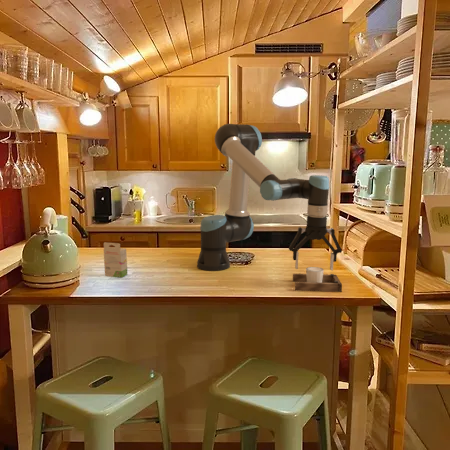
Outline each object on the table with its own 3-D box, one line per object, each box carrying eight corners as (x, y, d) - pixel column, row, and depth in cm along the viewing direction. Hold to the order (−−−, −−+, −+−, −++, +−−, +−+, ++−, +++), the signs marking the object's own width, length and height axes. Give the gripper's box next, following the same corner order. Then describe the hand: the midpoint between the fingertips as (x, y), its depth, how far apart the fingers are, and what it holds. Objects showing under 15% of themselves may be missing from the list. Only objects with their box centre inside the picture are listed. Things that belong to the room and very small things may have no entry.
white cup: (303, 283, 172) (303, 266, 171) (319, 283, 172) (320, 266, 171) (308, 288, 165) (308, 271, 164) (325, 288, 166) (326, 271, 164)
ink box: (128, 274, 183) (126, 241, 181) (121, 278, 179) (120, 243, 176) (110, 272, 186) (109, 239, 184) (104, 276, 181) (102, 242, 179)
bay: (295, 290, 163) (295, 281, 162) (292, 280, 176) (292, 272, 175) (341, 291, 161) (342, 282, 161) (335, 281, 174) (336, 273, 174)
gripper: (285, 216, 161) (282, 270, 165) (352, 218, 159) (347, 272, 163) (283, 213, 169) (281, 264, 173) (348, 215, 167) (344, 267, 171)
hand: (313, 268), depth 168 cm, fingers open, 13 cm apart
